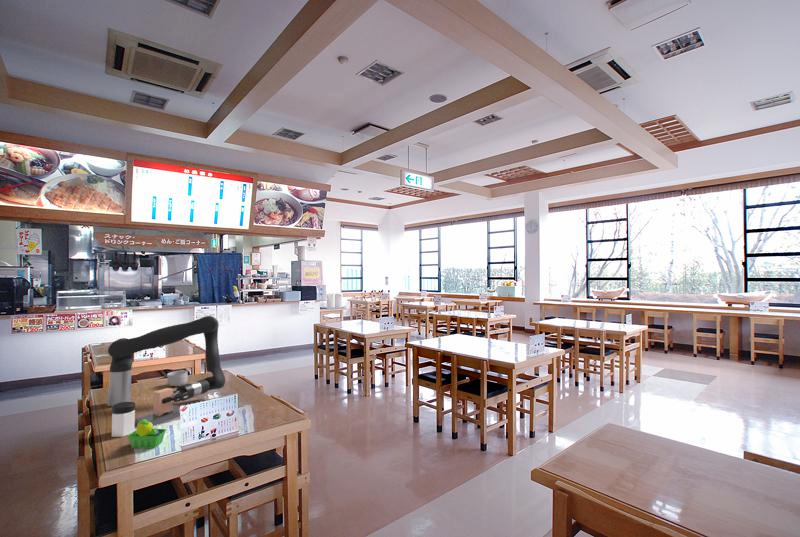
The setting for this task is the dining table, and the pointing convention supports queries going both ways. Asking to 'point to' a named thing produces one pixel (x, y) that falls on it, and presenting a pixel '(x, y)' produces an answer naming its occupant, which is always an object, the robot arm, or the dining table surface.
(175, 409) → the grey flat block
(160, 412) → the light brown rectangular block
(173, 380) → the teacup
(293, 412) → the dining table surface
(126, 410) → the jar
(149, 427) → the fruit basket
